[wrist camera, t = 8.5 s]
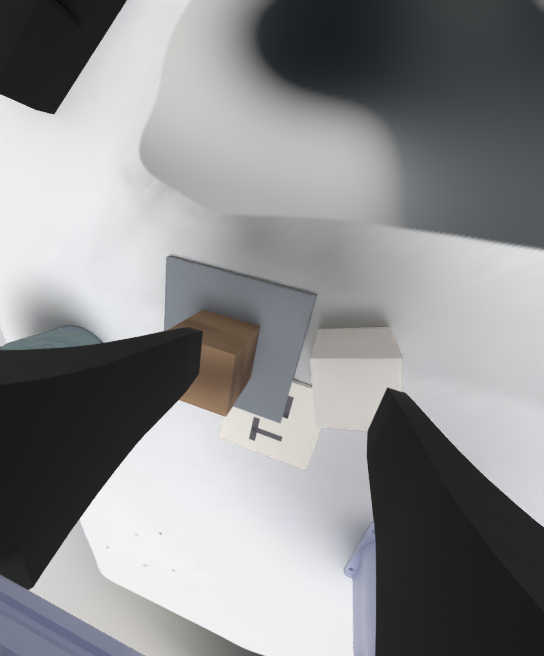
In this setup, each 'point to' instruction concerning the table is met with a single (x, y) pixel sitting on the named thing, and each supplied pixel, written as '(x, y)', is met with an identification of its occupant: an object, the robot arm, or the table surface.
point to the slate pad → (252, 307)
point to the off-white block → (353, 375)
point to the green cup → (55, 339)
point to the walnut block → (221, 360)
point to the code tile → (278, 429)
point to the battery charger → (49, 46)
